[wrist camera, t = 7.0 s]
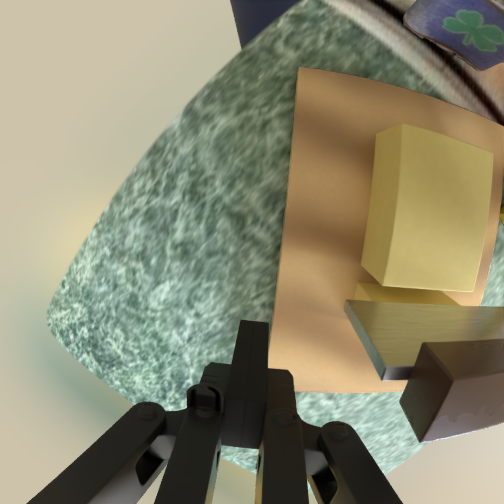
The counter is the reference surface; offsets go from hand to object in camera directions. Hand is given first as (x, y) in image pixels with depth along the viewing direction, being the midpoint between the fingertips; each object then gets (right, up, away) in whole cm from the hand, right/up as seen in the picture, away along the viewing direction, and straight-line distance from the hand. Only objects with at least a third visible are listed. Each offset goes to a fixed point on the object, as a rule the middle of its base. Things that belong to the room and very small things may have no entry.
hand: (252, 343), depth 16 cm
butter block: (+11, +8, +3) cm, 14 cm away
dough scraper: (+10, +2, -2) cm, 11 cm away
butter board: (+11, +5, +5) cm, 13 cm away
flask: (+17, +23, +1) cm, 28 cm away
